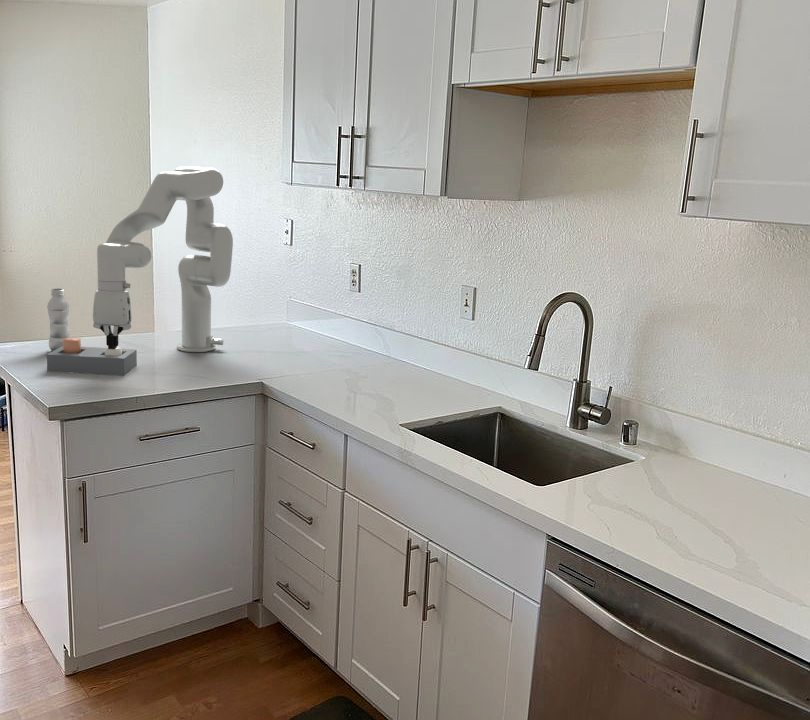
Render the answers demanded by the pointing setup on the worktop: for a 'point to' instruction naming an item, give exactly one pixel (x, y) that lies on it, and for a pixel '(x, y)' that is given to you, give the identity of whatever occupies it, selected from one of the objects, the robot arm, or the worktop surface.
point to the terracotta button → (72, 345)
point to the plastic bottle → (58, 318)
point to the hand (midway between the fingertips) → (112, 348)
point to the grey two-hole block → (92, 361)
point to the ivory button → (113, 351)
